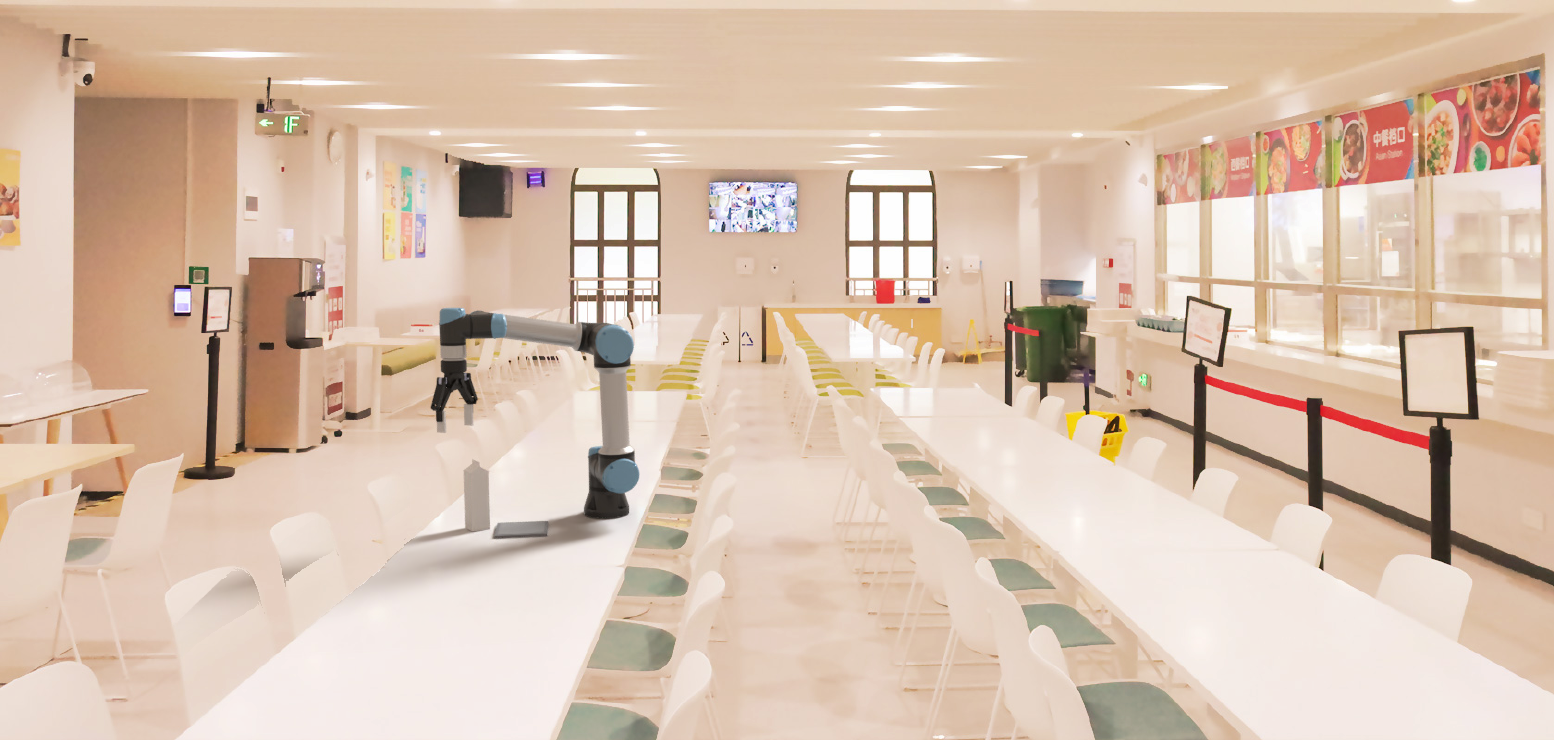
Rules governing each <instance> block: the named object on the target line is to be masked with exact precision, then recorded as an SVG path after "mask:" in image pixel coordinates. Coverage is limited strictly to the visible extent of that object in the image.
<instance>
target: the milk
mask: <svg viewBox="0 0 1554 740" xmlns="http://www.w3.org/2000/svg"><path fill="white" fill-rule="evenodd" d="M489 474H490V471H489V470H488V469H485V468H483V467H482V466H481V465H480V461H478V460H476V459H473V458H472V460H471V464H470V465H468V466H467V467H466V468H464V470H463V491H464V492H463V493H464V495H463V497H464V499H463V500H464V528H465V529H467V530H469V531H470V532H472V533H474V532H477V531H478V532H480V531H485V530H490V529H491V512H490V511H491V509H490V507H491V506H490V478H489V477H490V476H489Z"/></svg>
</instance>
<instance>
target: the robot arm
mask: <svg viewBox="0 0 1554 740" xmlns="http://www.w3.org/2000/svg"><path fill="white" fill-rule="evenodd" d="M438 325H439V327H438V328H439V344H440V346H439V347H440V359H441V360H440V372H441V373H442V374H443V376H442V377H441V376H438V377H436V385H435V389H434V392H433V396H432V401H431V403H430V410H432V411H433V412H434V411H435V422H436V431H437V432H436V433H442V434H445V433H447V416H446V413H447V412H446V410H445V408H446V405H447V404H448V400H449V399H450V396H451V394H452V393H454V392H455V391H456V390H457V391H458V392H459V394H460V396H461V398H462V399H463V401H464V404H463V417H464V419H463V421H464V426H471V427H472V426H474V405H477V401H478V400H479V398H478V395H477V392H476V390H475V387H474V383H473V381H472V374H471V372H467V371H468V370H467V369H468V368H467V367H468V366H467V365H468V364H467V360H466V358H467V354H468V353H467V340H474V339H476V340H477V339H482V340H483V339H494V340H496V339H507V340H514V341H522V342H528V343H529V342H530V343H538V344H545V345H551V346H552V345H554V346H559V347H567V348H572V349H573V351H575V352H580V353H586V354H589V355H591V356H593V368H594V369H595V371H597V372H598V373H599V376H598V378H599V394H600V395H599V396H600V416H601V417H600V418H601V419H600V420H601V435H602V436H601V437H602V445H598V446H591V447H590V448H589V449H588V453H587V454H588V455H587V459H588V460H587V461H588V494H587V497H586V500H585V503H584V506H583V515H584V516H586V517H587V518H593V519H616V518H621V517H625V516H626V515H629V514H630V504H629V501H628V499H627V496H626V493H628V492H630V491H631V490H633V489H634V488H635V487H636V485H638V482H639V479H640V469H639V467H638V464H637V463H636V456H635V454H636V453H635V448H634V447H633V446H632V445H631V444H630V428H629V427H630V426H629V404H628V403H629V402H628V386H627V385H628V382H627V381H628V380H627V379H628V378H627V371H628V370H629V369H630V368H631V366H632V364H631V363H632V362H631V357H632V354H633V352H634V348H635V347H634V346H635V344H634V339H633V336H632V335H631V332H630V331H628V330H627V329H626V328H624V327H623V326H621V325H620V324H619V325H618V324H612V323H608V322H583V321H577V322H575V323H569V322H560V321H553V320H547V319H540V318H533V317H532V318H531V317H525V316H517V315H510V314H509V315H508V314H503V313H497V312H488V311H487V312H486V311H483V310H474V311H472V312H471V313H466V309H465V308H464V307H442V308H441V309H440V311H439V322H438Z"/></svg>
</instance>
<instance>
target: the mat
mask: <svg viewBox="0 0 1554 740" xmlns="http://www.w3.org/2000/svg"><path fill="white" fill-rule="evenodd" d="M548 531H549V520H535V521H533V520H532V521H512V522H509V521H508V522H497V524H496V528H495V531H494V534H493V535H494V536H493V539H512V538H513V539H515V538H535V537H536V538H537V537H548V534H549V532H548Z"/></svg>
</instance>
